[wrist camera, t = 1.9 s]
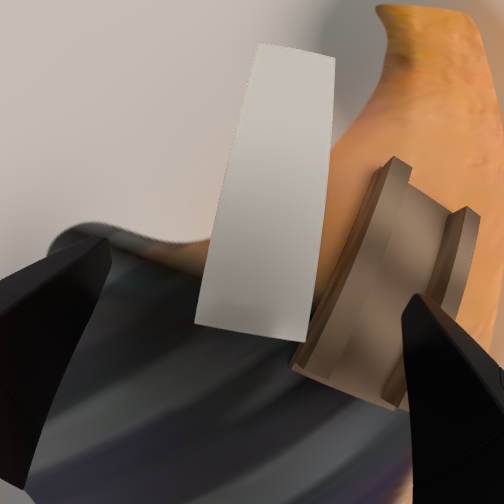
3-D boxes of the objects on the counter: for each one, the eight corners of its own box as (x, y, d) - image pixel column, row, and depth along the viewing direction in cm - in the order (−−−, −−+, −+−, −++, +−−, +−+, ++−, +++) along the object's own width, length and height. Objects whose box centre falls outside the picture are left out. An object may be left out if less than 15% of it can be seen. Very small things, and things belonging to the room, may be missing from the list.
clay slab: (271, 327, 19) (305, 342, 9) (215, 317, 19) (194, 323, 9) (297, 155, 22) (335, 57, 12) (249, 146, 22) (259, 42, 12)
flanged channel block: (385, 406, 18) (411, 421, 15) (287, 366, 19) (299, 377, 15) (453, 224, 21) (481, 210, 18) (374, 172, 22) (395, 150, 18)
